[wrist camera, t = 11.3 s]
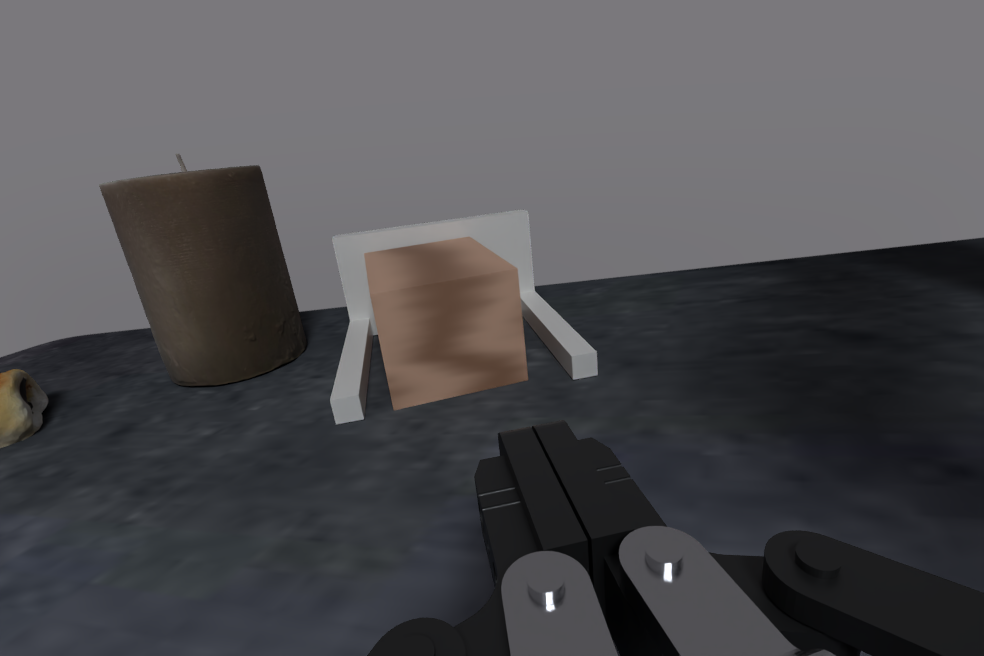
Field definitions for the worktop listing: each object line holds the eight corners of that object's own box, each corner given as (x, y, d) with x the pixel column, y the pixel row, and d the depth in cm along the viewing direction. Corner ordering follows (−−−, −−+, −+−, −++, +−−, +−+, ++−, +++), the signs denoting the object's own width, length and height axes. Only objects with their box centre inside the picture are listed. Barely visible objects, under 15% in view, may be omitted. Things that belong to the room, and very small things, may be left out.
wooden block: (480, 321, 41) (469, 236, 38) (528, 382, 30) (517, 268, 27) (381, 341, 39) (363, 253, 36) (394, 413, 28) (370, 294, 26)
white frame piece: (531, 303, 43) (523, 209, 40) (597, 375, 29) (592, 239, 26) (355, 332, 41) (334, 235, 38) (336, 424, 27) (300, 283, 24)
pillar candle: (313, 363, 36) (257, 141, 31) (157, 403, 32) (65, 159, 27) (302, 328, 44) (256, 149, 39) (178, 356, 41) (110, 164, 36)
